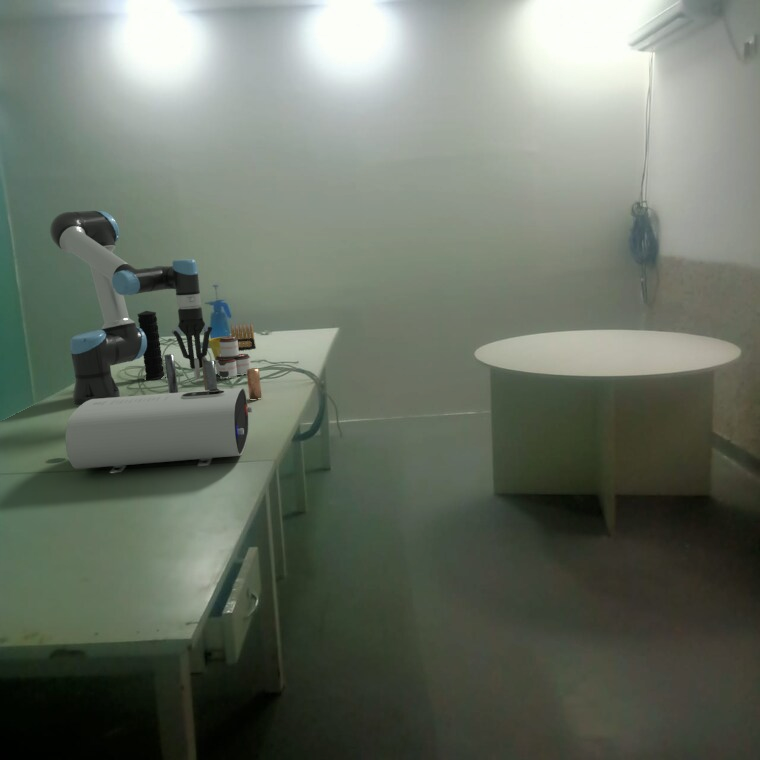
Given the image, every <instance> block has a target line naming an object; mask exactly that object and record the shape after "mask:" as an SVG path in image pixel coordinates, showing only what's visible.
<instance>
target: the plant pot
mask: <svg viewBox="0 0 760 760" xmlns="http://www.w3.org/2000/svg"><path fill="white" fill-rule="evenodd" d="M223 337H224V336H218V337H214V338H213V337H212V338H209V343H208V348H209V349H211V352H212V355H213V358H214V360H215V359H216V357H217V356H218V355H221V351H220V342H219V341H220V339H221V338H223Z"/></svg>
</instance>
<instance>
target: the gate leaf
mask: <svg viewBox="0 0 760 760" xmlns="http://www.w3.org/2000/svg"><path fill="white" fill-rule="evenodd" d="M206 361H209V360H208V358H207V357H206V356H204V357H202V368H201V369H202V375H203V385H204V391H207V390H208V388H207V379H206V371H205V362H206Z"/></svg>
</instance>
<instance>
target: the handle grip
mask: <svg viewBox="0 0 760 760" xmlns="http://www.w3.org/2000/svg"><path fill="white" fill-rule="evenodd" d="M137 317H138V318H137V320H138V328H141V329H142V331H143V332H144V333H145V335H146V339H147V347H146V351H145V353H144V355H143V356H142V357H143V364H144V367H145V368H144V372H145V376H146V380H147V381H146V382H154V381H161V380H162V379H161V378H162V377H163V376H164V374H165V372H164V366H163V365H164V364H163V356H162V350H161V349H162V348H161V342H160V333H159V326H158V318H157V312H155V311H150V310H145V311H142V312H140V313H137ZM160 379H161V380H160Z"/></svg>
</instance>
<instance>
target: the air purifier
mask: <svg viewBox="0 0 760 760" xmlns="http://www.w3.org/2000/svg"><path fill="white" fill-rule="evenodd" d="M249 413H253V407H252V406H249V407H248V398H247V395H246V390H245V388H244V387H237V388H235V387H234V388H225V389H224V388H222V389H221V388H220V389H219V388H217V389H211V390H207V391H205V390H196V391H194V390H193V391H182V392H181V391H180V392H178V393H169V392H168V393H154V394H153V393H152V394H143V395H140V394H139V395H128V396H120V397H113V398H100V399H91V400H88V401H86V402H85V403H83V404H79V406H78V407H77V408H76V409H75V410H74V411H73V412H72V413H71V415H70V416H69V418H68V420H67V422H66V426H65V427H66V428H65V450H66V454H67V458H68V460H69V463H70V465H72V467H73V468H74V469H76V470H78V469H79V470H81V469H92V468H104V467H105V468H106V467H113V468H112V469H111V470H110V471H111V472H120V473H122V472H123V471H124V470H125V469H126V467H127V466H128V465H141V464H155V463H165V462H166V463H167V462H180V461H190V460H199V461H198V463H197V465H196V466H197V467H205V466H206V467H207V466H209V465H211V463H212V461H213V459H215V458H217V459H218V458H227V457H229V458H230V457H239V456H242V454H243V452H244V451H245V447H246V445H247V440H248V436H249V427H250V426H249V424H250V422H249ZM204 461H205V462H204ZM117 468H118V469H117ZM124 468H125V469H124ZM123 469H124V470H123ZM122 470H123V471H122Z"/></svg>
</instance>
